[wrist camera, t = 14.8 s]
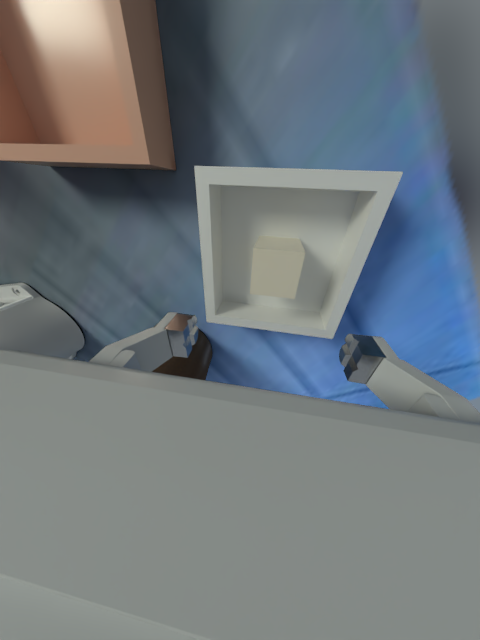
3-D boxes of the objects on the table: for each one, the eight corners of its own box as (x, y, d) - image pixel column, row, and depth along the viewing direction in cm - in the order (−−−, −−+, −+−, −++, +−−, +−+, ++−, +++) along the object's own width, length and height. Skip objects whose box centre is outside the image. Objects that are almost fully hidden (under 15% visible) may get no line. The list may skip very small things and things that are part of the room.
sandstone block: (255, 273, 24) (249, 293, 19) (259, 235, 21) (253, 248, 16) (291, 276, 23) (294, 299, 18) (299, 238, 21) (305, 252, 16)
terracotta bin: (49, 166, 22) (-3, 160, 18) (-77, -132, 13) (-242, -281, 9) (176, 170, 20) (150, 164, 16) (133, -177, 11) (46, -396, 7)
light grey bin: (216, 303, 29) (206, 321, 25) (212, 171, 20) (194, 165, 15) (324, 316, 27) (332, 338, 23) (374, 176, 18) (403, 171, 14)
